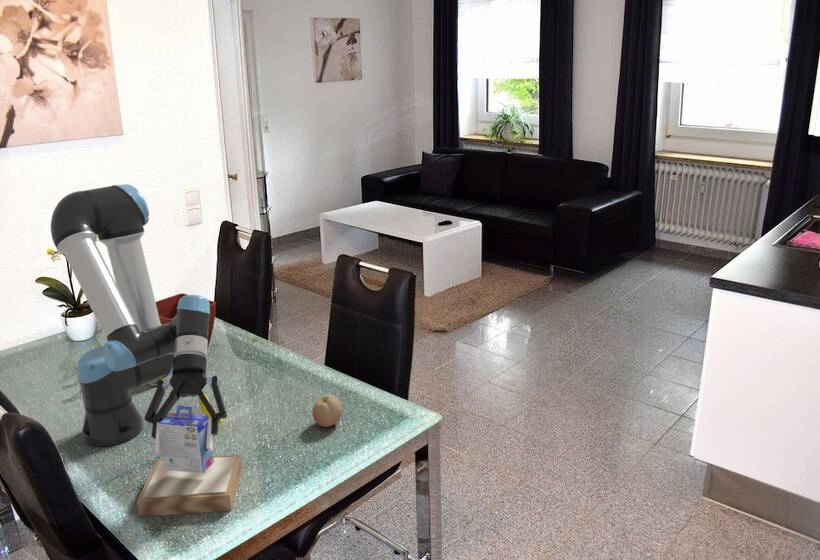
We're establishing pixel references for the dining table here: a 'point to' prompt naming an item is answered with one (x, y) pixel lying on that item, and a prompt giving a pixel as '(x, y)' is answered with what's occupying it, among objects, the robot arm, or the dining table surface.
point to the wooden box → (191, 489)
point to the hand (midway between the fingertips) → (183, 451)
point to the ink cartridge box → (185, 441)
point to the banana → (207, 411)
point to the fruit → (327, 411)
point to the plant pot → (169, 311)
